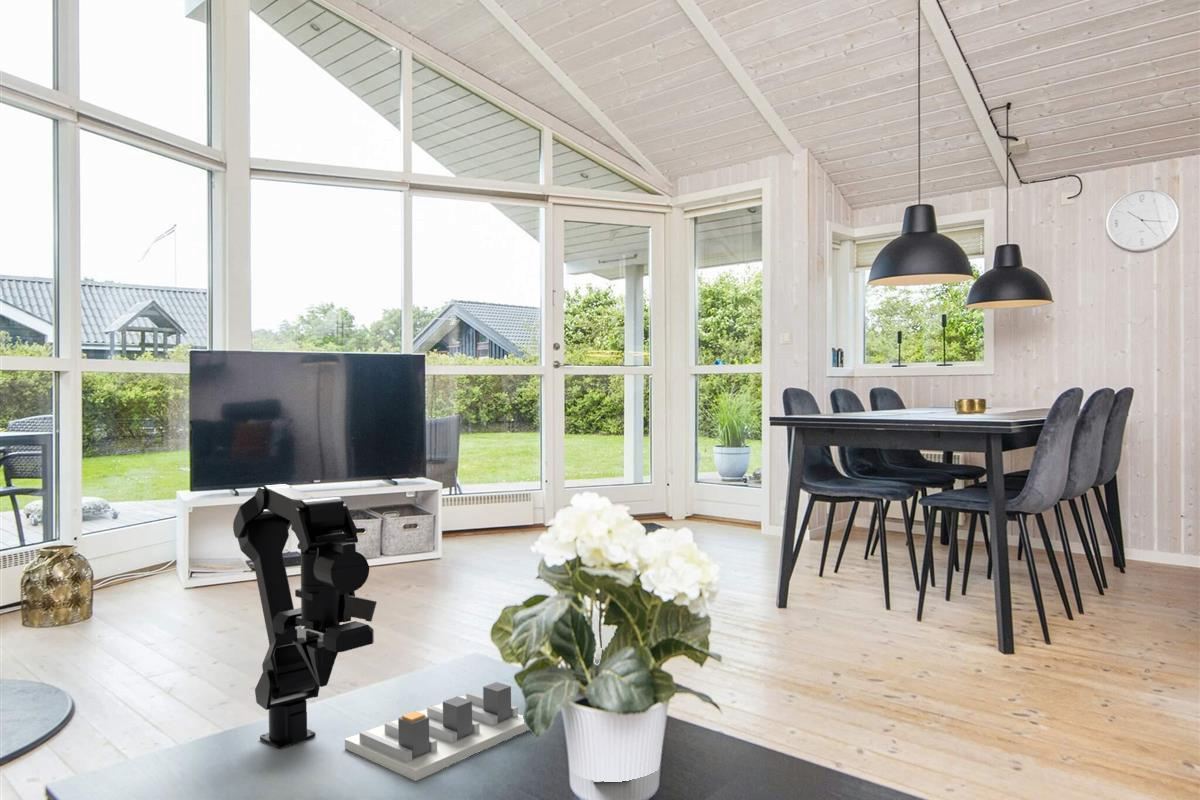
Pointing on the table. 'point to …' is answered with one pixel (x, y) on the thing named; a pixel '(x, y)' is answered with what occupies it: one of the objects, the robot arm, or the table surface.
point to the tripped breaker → (414, 732)
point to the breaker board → (435, 740)
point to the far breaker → (497, 700)
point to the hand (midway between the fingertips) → (322, 685)
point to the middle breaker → (458, 716)
